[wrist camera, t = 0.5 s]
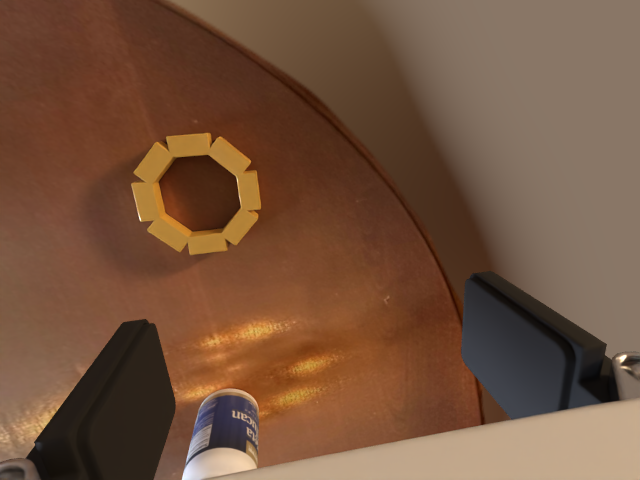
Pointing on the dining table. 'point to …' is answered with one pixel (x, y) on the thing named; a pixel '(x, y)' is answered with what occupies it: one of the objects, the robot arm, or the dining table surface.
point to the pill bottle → (224, 436)
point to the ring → (171, 229)
